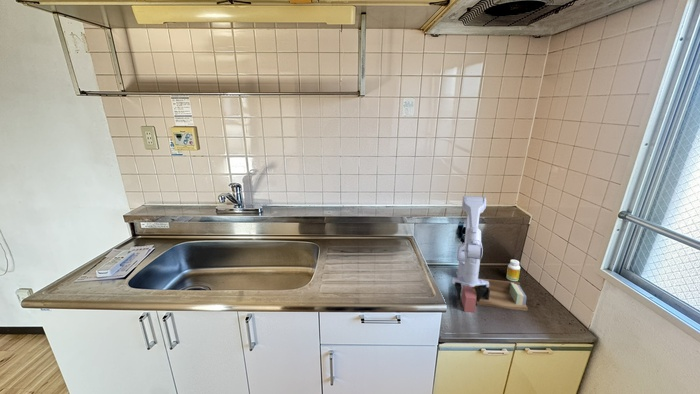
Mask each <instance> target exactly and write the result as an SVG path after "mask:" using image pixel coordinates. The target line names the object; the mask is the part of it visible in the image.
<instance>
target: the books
mask: <svg viewBox="0 0 700 394" xmlns="http://www.w3.org/2000/svg"><path fill="white" fill-rule="evenodd" d="M509 293H510V294H511V296H512V298H513V300H514V302H515V303H516V304H517V305H525V304H526V305H527V295H526V293H525V292H524V290H523V289H522V287H521V284H520V285H517V284H514V283H511V284H510V291H509Z"/></svg>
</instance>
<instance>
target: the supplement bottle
mask: <svg viewBox="0 0 700 394" xmlns="http://www.w3.org/2000/svg"><path fill="white" fill-rule="evenodd" d="M520 271H521V266H520V261H519V260H517V259H510V261H509V263H508V265H507V269H506V279H507V280H508V281H510V282H519V280H520V279H519V278H520V273H521V272H520Z"/></svg>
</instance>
